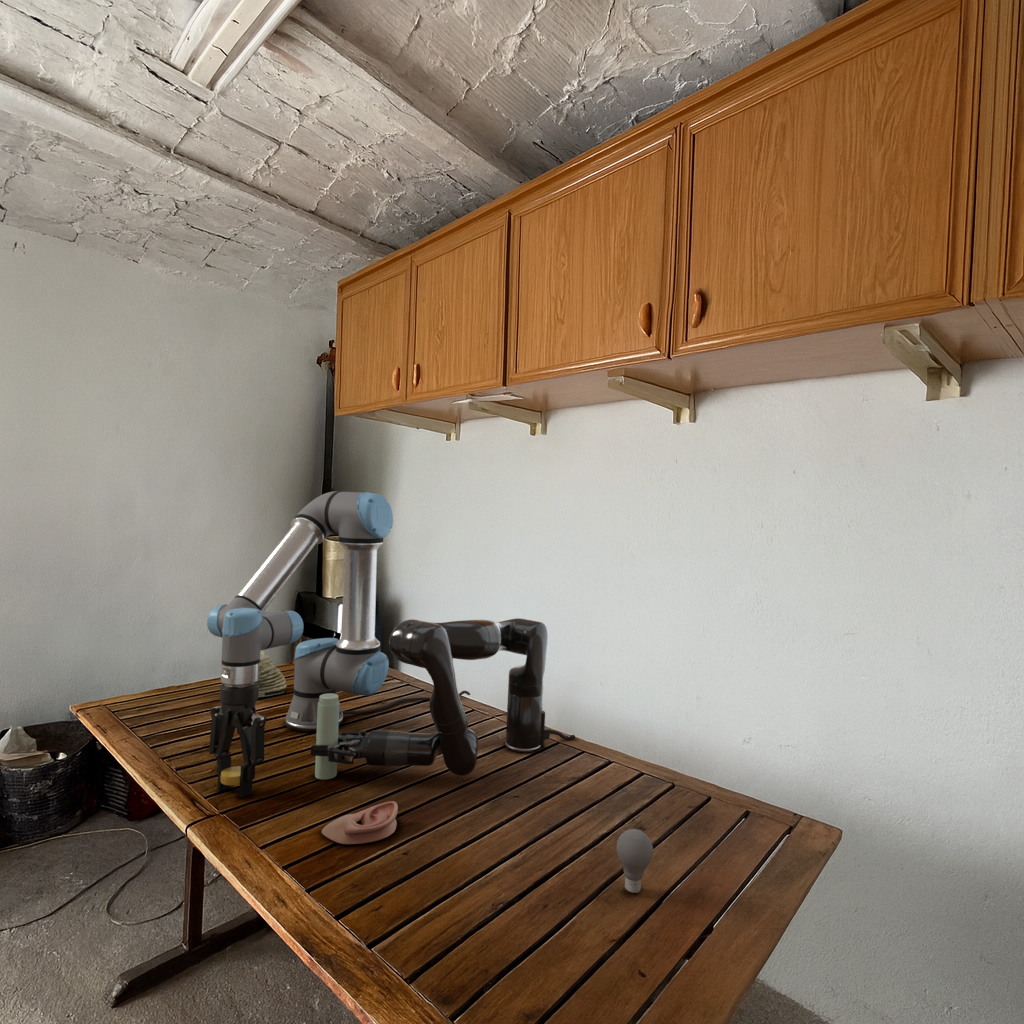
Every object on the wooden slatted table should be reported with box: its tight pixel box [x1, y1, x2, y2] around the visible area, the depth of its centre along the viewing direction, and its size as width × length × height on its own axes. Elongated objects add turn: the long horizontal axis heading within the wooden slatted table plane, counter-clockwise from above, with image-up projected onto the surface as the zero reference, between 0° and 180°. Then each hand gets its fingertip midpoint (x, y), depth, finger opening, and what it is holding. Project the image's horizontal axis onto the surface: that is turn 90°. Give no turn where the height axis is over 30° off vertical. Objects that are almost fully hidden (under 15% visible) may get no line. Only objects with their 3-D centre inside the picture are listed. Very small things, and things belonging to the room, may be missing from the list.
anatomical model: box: [321, 800, 399, 845], centre depth 121 cm, size 13×4×12 cm
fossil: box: [257, 650, 288, 698], centre depth 198 cm, size 9×18×15 cm, turn 132°
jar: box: [314, 693, 340, 781], centre depth 144 cm, size 5×5×18 cm
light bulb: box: [615, 828, 654, 894], centre depth 106 cm, size 6×6×10 cm
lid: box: [220, 765, 242, 786], centre depth 134 cm, size 6×6×2 cm
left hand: (234, 791), depth 134 cm, fingers closed on lid, 6 cm apart
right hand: (315, 745), depth 144 cm, fingers closed on jar, 4 cm apart
